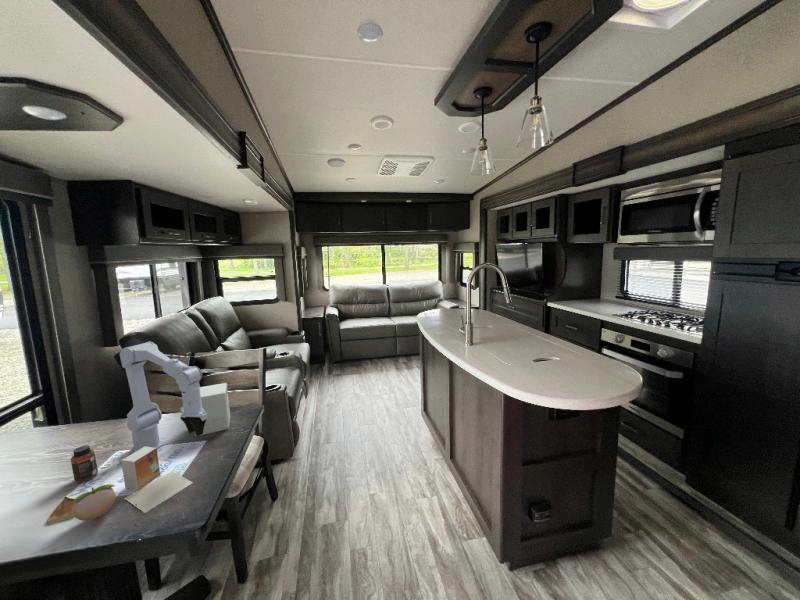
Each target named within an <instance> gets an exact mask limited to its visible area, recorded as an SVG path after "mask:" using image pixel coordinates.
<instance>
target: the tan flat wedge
mask: <svg viewBox="0 0 800 600" xmlns="http://www.w3.org/2000/svg"><path fill="white" fill-rule="evenodd" d="M74 499H75V498H71V497H70V498H69V497H68V496H64V497H63V499H62V500H61V501H60V503H59V504H58V505H57V506H56V507H55V509H54V510H53V512H52V513H51V514H50V516H49V517H48V519H47V520H46V524H47V525H50V524H54V523H57V522H60V521H64V520H68V519H72V518H75V517H74V515H73V512H72V511H73V505H74V503H75V502H74V503H72V501H73V500H74ZM71 503H72V504H71Z"/></svg>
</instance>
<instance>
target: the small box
mask: <svg viewBox="0 0 800 600" xmlns="http://www.w3.org/2000/svg"><path fill="white" fill-rule="evenodd" d="M120 462H121V468H122V473H123V481H124V488H125V489H128V488H130V490H134V489H136V490H135V491H138V490H140V488H141V487H142V488H143V487H145V486H147V485H148V484H150V483H151V481H152V482H153V480H155V479H156V478H158V477H159V476H160V475H161V471H160V462H159V455H158V448H153V447H145V446H144V447H143V448H141V449H140V450H138V451H136V452H135V451H134V452H133V453H131V454H130V455H128V456H126V457H124V458H123V459H121V461H120ZM158 475H159V476H158ZM157 476H158V477H157ZM144 485H145V486H144ZM142 488H141V489H142Z"/></svg>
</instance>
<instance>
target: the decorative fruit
mask: <svg viewBox="0 0 800 600" xmlns="http://www.w3.org/2000/svg"><path fill="white" fill-rule="evenodd" d="M115 486H116V485H114V484H109V483H108V484H102V485H100V486H97V487H95V488H94V486H93V487H91V490H90V491H86V492H83V493H81V494H79V495H78V496H76V498H73V499H74V500H73V501H72V503H74V502H75V503H74V505H73V511H72V512H73V515H74V517H73V518H75V519H77V520H79V521H82V522H88V521H92V520H95V519H98V518H100V517H101V516H102V515H104V514H106V513H107V512H108V511H109V510H110V509H111V508H112V506H113V504H114V503H115V499H116V492H115V490H114V489H113V487H115ZM72 503H71V504H72Z"/></svg>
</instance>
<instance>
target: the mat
mask: <svg viewBox="0 0 800 600" xmlns="http://www.w3.org/2000/svg"><path fill="white" fill-rule="evenodd" d="M192 484H194V482H193V481H191V480H189V479H187V478H185V477H183V476H182V475H180V474H179V473H176V472H174V471H170V472H168V473H166V474H164V475H162V476H161V477H159V478H157V479H156V480H154V481H152V482H149V483H148V484H146V485H145V486H143V487H142V488H141V489H139V491H138V490H135V491H134V492H133V493H135V494H133V493H131V494H132V495H131V494H129V495H127V496H126V497H124V498H123V500H125V501H126V500H127V501H128V503H129V502H130V503H131V504H130V503H129V504H130V505H132V504H133V505H134V506H133V505H132V506H133V507H135V506H136V505H135V504H137V506H136V507H137V508H138V510H139V509H140V510H141V511H140V510H139V511H140V512H142V513H143V514H147V513H148V512H150V511H151V509H152V510H153V509H155V508H157V507H158V506H160V505H161V504H163V503H164V502H166V501H168V500H169V499H171V498H173V496H175V495H177V494H179V493H180V492H182V491H184V490H185V489H186V488H189V486H191V485H192ZM127 501H126V502H127ZM162 502H163V503H162ZM159 504H160V505H159ZM157 505H158V506H157ZM136 507H135V508H136ZM137 508H136V509H137Z"/></svg>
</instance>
